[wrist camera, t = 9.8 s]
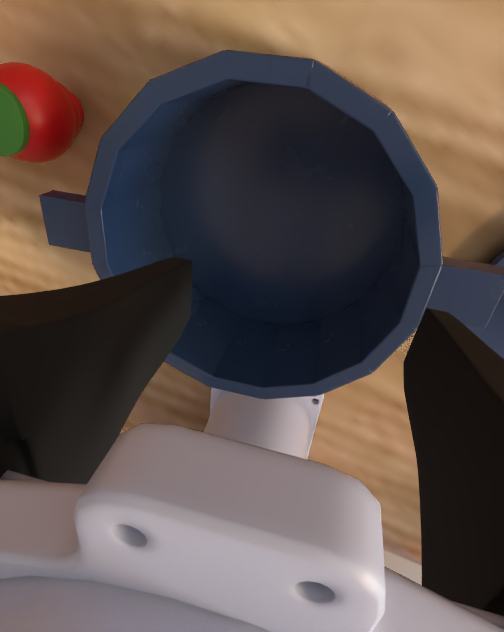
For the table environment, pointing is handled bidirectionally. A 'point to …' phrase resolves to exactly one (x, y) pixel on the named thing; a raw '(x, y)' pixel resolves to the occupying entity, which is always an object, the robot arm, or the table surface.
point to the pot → (274, 222)
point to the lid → (494, 321)
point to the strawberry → (35, 114)
